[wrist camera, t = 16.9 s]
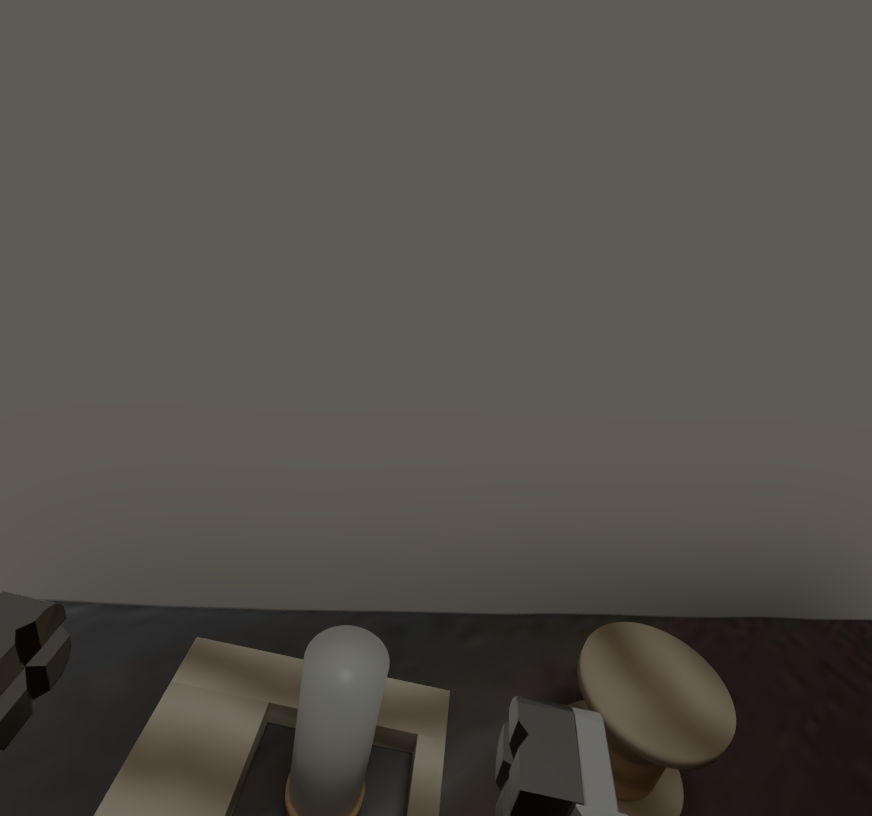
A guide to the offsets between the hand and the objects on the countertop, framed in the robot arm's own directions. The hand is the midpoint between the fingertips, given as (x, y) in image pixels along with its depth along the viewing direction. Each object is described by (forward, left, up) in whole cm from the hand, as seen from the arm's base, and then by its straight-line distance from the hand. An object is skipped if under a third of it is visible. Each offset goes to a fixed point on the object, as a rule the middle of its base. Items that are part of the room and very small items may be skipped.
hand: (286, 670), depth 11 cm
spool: (-25, -1, -27) cm, 37 cm away
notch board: (-8, -12, -27) cm, 31 cm away
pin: (-8, -9, -27) cm, 30 cm away
